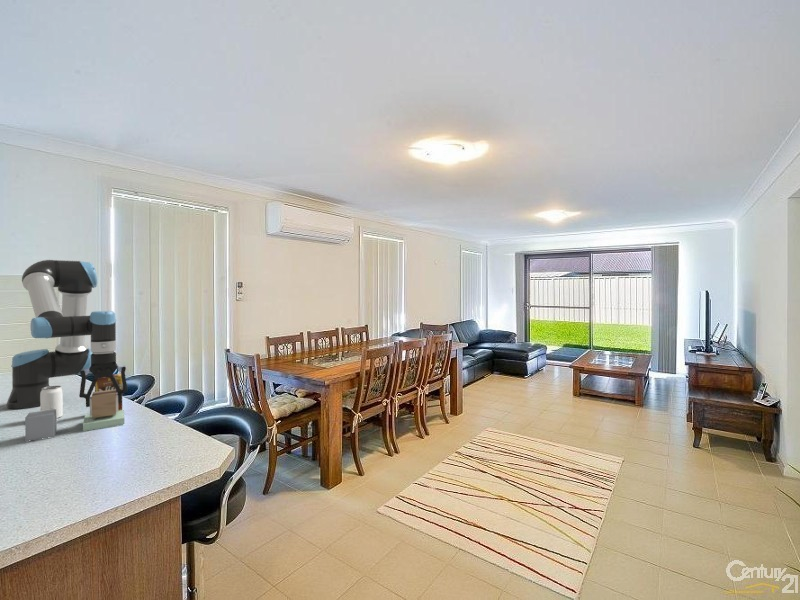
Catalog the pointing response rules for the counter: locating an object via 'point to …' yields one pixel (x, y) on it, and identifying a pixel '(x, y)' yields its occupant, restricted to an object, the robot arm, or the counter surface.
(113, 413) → the walnut block
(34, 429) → the slate block
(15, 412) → the counter surface
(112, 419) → the sage slab
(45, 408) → the can
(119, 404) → the candy box
